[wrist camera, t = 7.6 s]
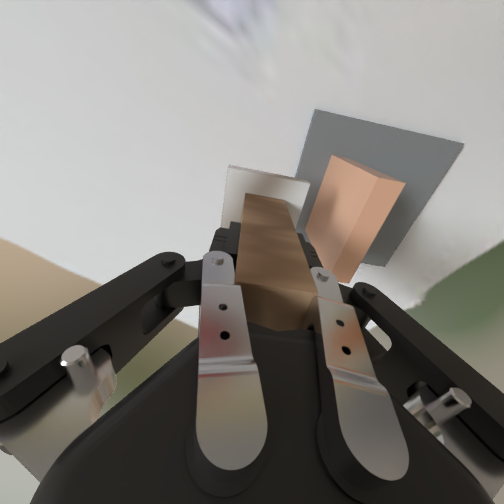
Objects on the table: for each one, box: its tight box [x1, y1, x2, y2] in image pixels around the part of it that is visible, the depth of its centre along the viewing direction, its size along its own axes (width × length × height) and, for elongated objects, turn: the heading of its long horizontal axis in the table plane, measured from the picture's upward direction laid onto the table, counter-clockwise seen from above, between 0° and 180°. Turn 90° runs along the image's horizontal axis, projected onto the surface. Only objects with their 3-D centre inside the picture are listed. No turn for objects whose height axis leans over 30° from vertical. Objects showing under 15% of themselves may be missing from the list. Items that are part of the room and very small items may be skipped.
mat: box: [295, 109, 464, 267], centre depth 26 cm, size 16×16×1 cm
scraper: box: [221, 165, 319, 331], centre depth 13 cm, size 6×6×11 cm
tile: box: [305, 155, 406, 283], centre depth 21 cm, size 2×9×10 cm, turn 170°
